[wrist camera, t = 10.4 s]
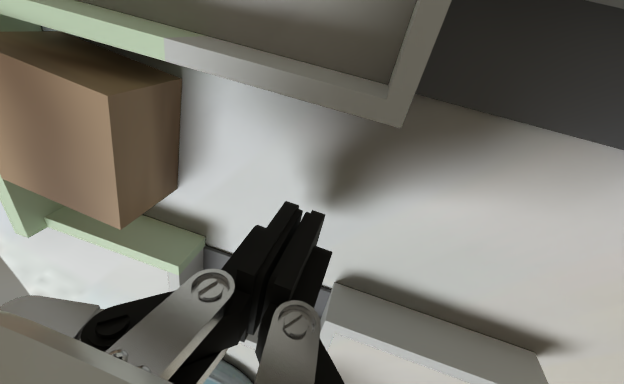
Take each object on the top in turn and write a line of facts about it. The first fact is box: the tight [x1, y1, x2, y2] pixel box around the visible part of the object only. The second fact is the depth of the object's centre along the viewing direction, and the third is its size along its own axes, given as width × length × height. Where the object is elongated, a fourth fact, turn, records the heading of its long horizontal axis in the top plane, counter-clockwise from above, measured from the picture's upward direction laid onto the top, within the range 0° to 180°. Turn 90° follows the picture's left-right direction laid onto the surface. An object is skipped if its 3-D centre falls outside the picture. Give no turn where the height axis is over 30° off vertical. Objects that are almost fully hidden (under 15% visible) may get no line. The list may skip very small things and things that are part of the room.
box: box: [0, 0, 624, 384], centre depth 12 cm, size 28×20×4 cm
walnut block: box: [0, 31, 182, 230], centre depth 13 cm, size 6×6×4 cm
